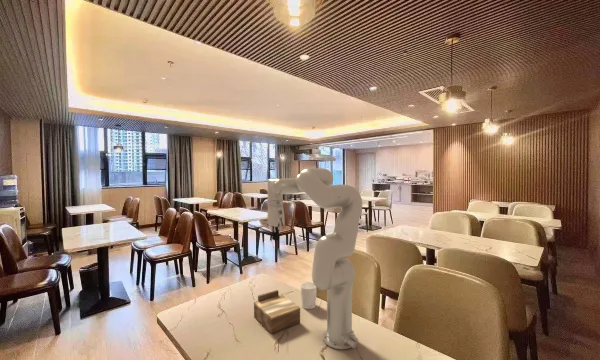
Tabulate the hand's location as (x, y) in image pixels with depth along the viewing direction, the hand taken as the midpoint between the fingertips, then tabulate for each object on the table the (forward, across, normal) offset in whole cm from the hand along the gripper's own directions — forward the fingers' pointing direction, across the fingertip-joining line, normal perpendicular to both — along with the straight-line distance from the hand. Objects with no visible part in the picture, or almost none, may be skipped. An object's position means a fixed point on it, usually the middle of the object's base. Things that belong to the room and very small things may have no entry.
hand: (275, 239), depth 136 cm
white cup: (+31, -14, -10) cm, 36 cm away
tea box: (+31, -16, +9) cm, 36 cm away
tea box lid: (+25, -16, +9) cm, 31 cm away
